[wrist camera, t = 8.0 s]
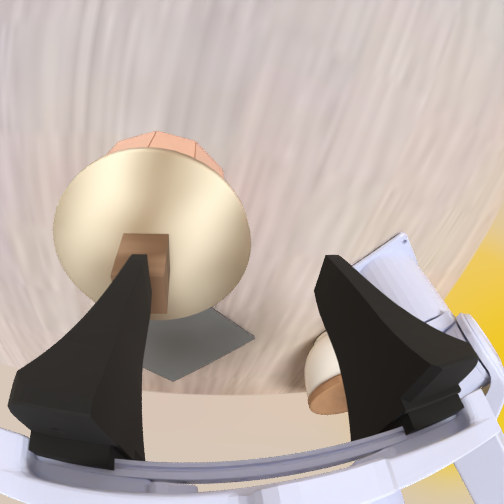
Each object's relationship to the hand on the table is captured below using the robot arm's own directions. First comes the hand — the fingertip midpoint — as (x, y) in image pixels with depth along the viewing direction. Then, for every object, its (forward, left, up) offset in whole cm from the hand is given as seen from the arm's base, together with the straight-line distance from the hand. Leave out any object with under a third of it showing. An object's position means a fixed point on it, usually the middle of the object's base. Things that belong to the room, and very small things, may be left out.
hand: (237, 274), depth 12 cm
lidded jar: (-25, +3, -10) cm, 27 cm away
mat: (-9, +16, -10) cm, 21 cm away
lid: (+1, +5, -6) cm, 8 cm away
